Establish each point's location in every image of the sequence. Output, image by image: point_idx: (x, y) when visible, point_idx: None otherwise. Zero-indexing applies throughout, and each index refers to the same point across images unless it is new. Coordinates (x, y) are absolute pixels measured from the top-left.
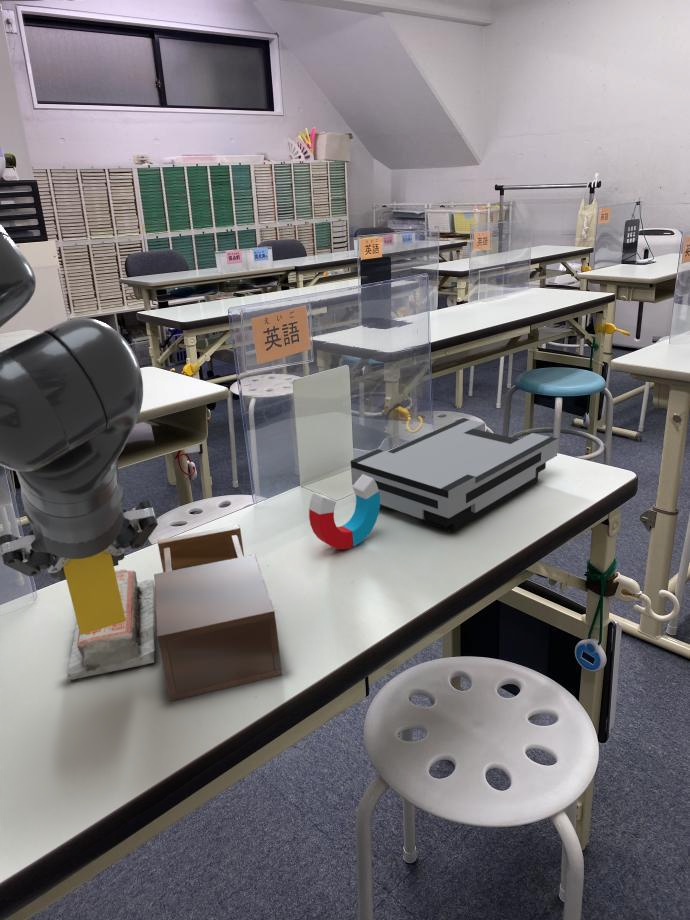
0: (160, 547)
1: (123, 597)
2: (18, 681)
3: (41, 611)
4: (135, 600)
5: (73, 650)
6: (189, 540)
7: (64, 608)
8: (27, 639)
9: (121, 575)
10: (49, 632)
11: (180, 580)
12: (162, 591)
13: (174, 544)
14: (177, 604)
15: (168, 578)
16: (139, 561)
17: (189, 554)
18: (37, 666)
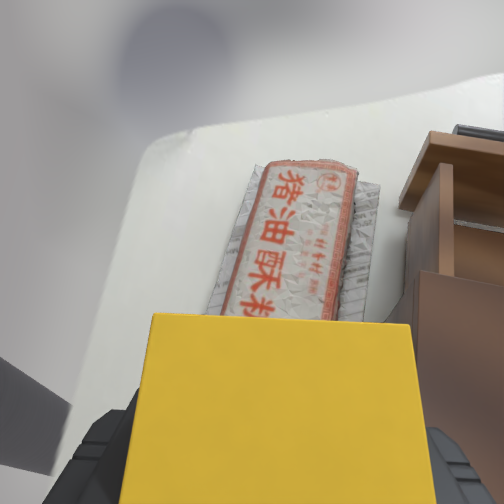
0: (430, 151)
1: (326, 250)
2: (111, 327)
3: (191, 164)
4: (345, 258)
5: (209, 312)
6: (497, 159)
7: (224, 174)
8: (154, 222)
9: (333, 176)
10: (189, 222)
11: (487, 337)
12: (436, 364)
13: (461, 155)
14: (476, 460)
15: (455, 310)
16: (360, 115)
17: (476, 181)
18: (149, 303)
